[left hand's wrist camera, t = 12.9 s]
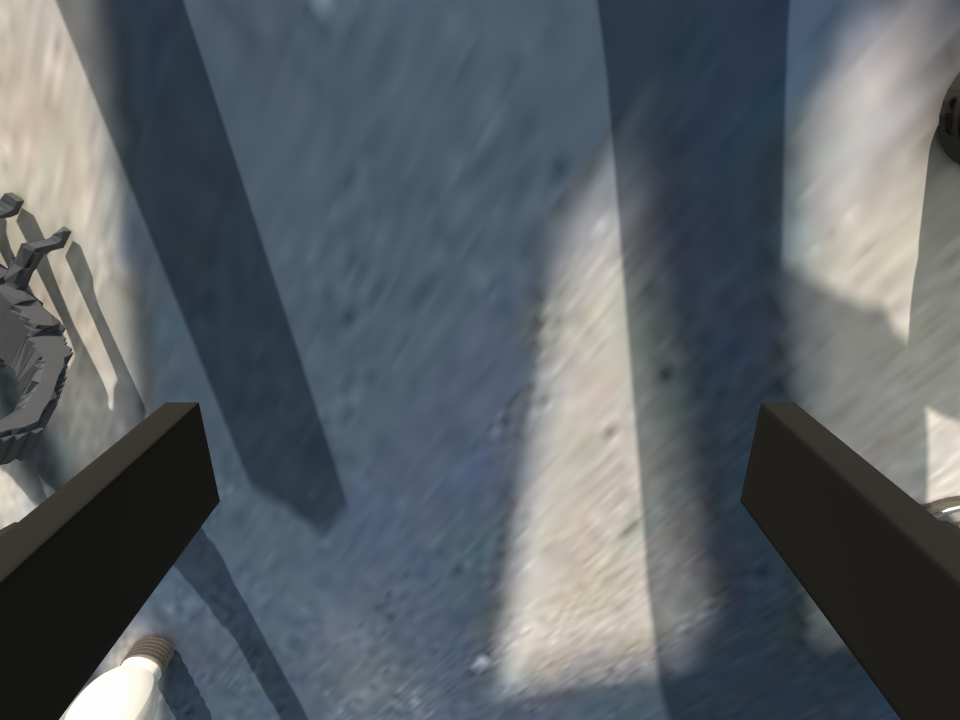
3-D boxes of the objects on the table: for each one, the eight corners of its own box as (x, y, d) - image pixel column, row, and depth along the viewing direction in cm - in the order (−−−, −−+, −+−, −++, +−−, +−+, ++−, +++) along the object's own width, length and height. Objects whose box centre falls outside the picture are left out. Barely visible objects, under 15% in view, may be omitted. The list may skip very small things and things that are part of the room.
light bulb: (162, 617, 52) (85, 731, 42) (201, 663, 55) (137, 782, 44) (105, 637, 53) (16, 753, 43) (146, 682, 56) (70, 802, 45)
